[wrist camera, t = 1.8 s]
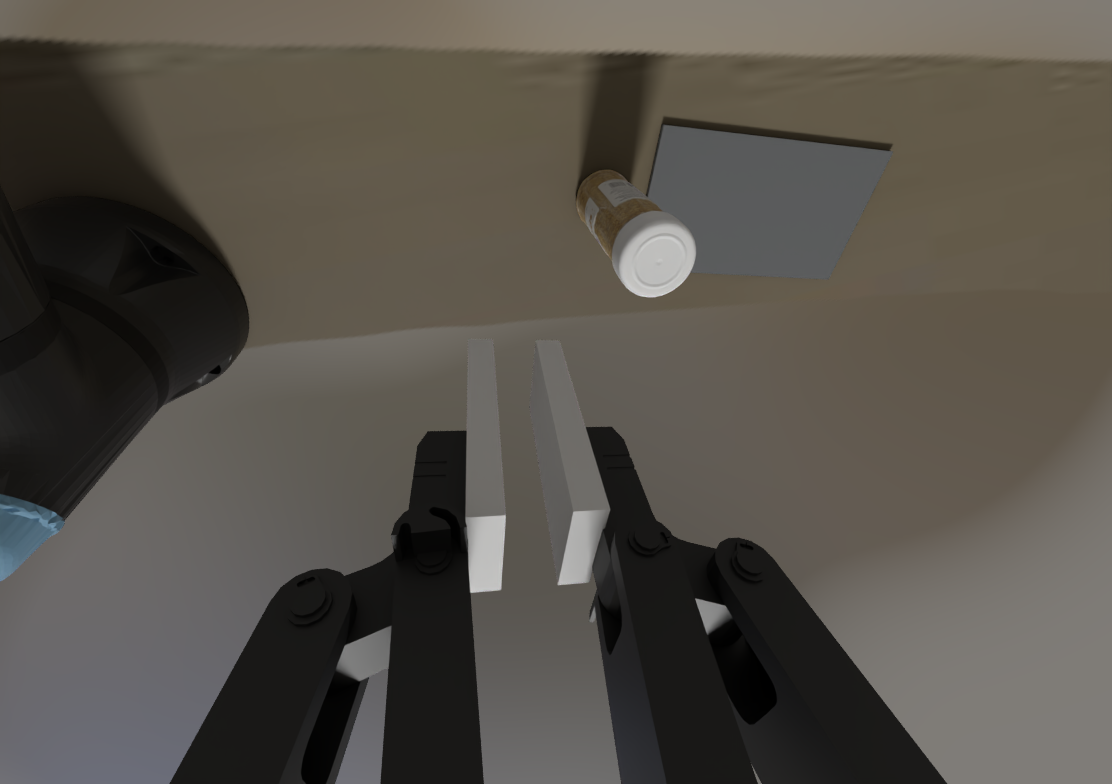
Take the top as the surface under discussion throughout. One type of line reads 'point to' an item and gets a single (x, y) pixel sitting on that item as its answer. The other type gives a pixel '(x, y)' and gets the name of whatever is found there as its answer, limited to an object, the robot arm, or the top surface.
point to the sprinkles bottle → (636, 234)
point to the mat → (763, 199)
